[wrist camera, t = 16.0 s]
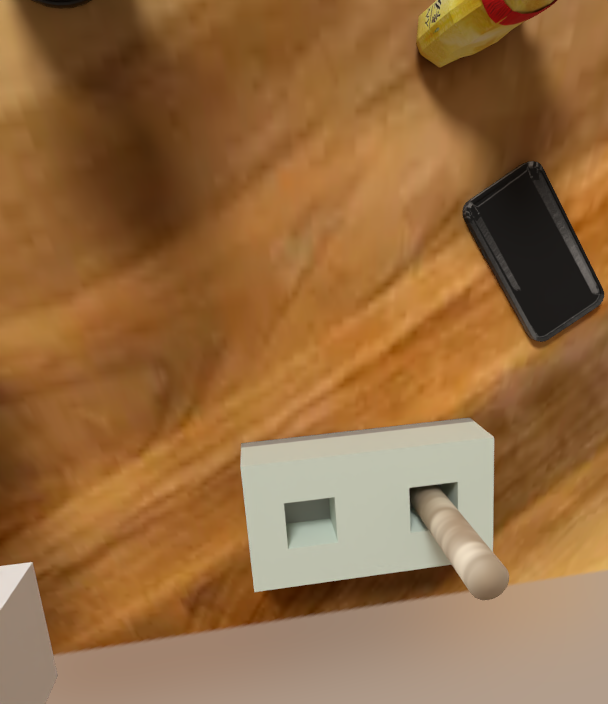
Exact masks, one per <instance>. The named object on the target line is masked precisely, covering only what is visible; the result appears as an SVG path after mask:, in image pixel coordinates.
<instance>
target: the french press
mask: <svg viewBox="0 0 608 704" xmlns="http://www.w3.org/2000/svg"><path fill="white" fill-rule="evenodd" d="M32 1H34V2H37V3H40V4H42V5H45V6H49V7H56V8H71V7H76V6H79V5H83V4H86V3H87V2H89V1H91V0H32Z"/></svg>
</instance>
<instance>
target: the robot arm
mask: <svg viewBox="0 0 608 704" xmlns="http://www.w3.org/2000/svg"><path fill="white" fill-rule="evenodd" d="M57 676H58V675H57V671H56V666H55V661H54V657H53V652H52V648H51V643H50V638H49V634H48V629H47V625H46V620H45V616H44V611H43V607H42V602H41V598H40V593H39V589H38V584H37V580H36V575H35V571H34V566H33V562H29V563H21V564H14V565H6V566H0V704H46V701H47V699H48V697H49V694H50V692H51V690H52V688H53V685H54V683H55V681H56V678H57Z"/></svg>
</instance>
